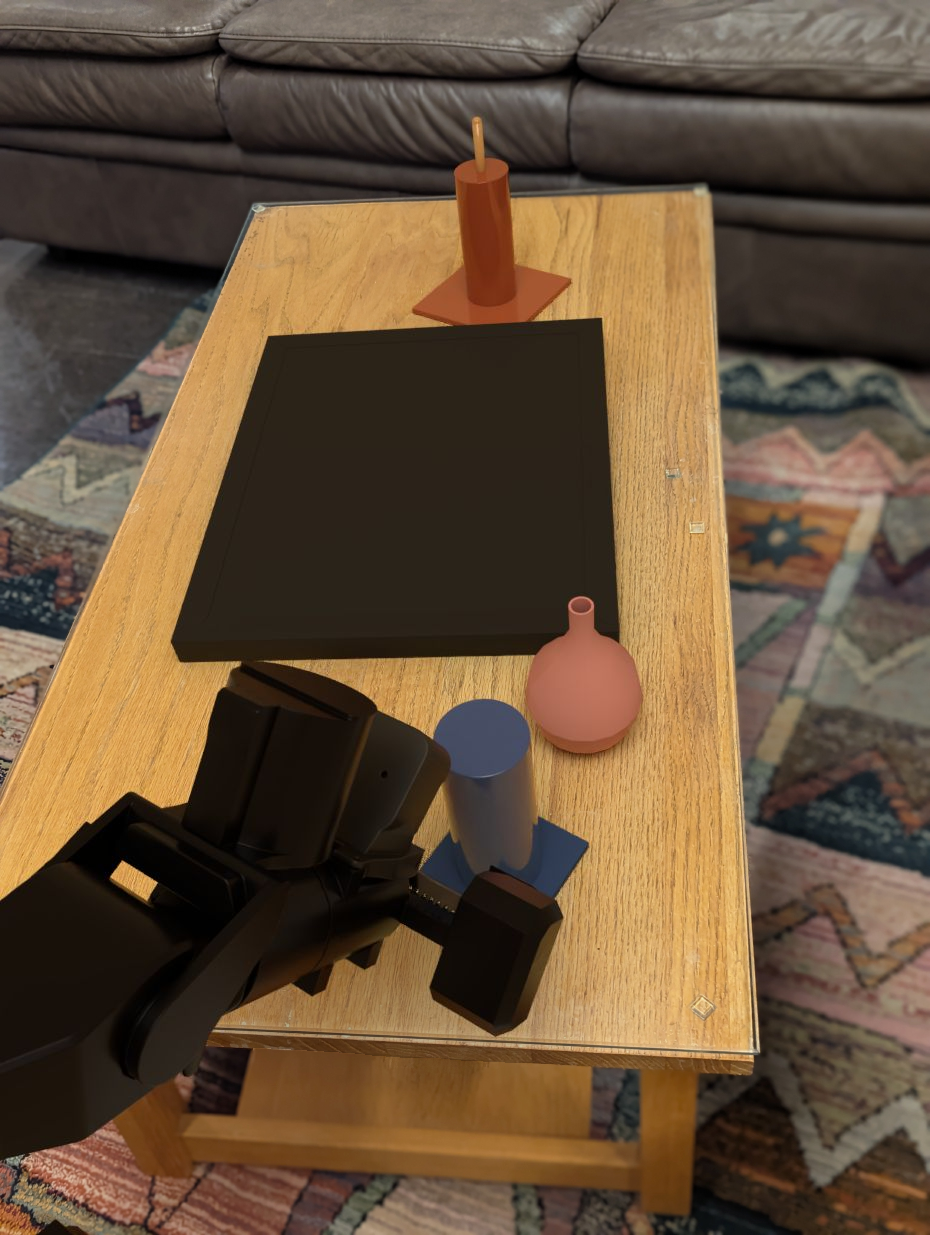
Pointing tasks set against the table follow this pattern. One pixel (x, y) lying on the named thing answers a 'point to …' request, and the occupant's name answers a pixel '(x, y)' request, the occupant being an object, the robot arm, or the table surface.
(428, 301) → the terracotta tile
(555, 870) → the blue mat
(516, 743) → the blue cylinder
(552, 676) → the terracotta bud vase
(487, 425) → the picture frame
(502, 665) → the table surface
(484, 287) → the terracotta candle
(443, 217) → the table surface
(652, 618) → the table surface
